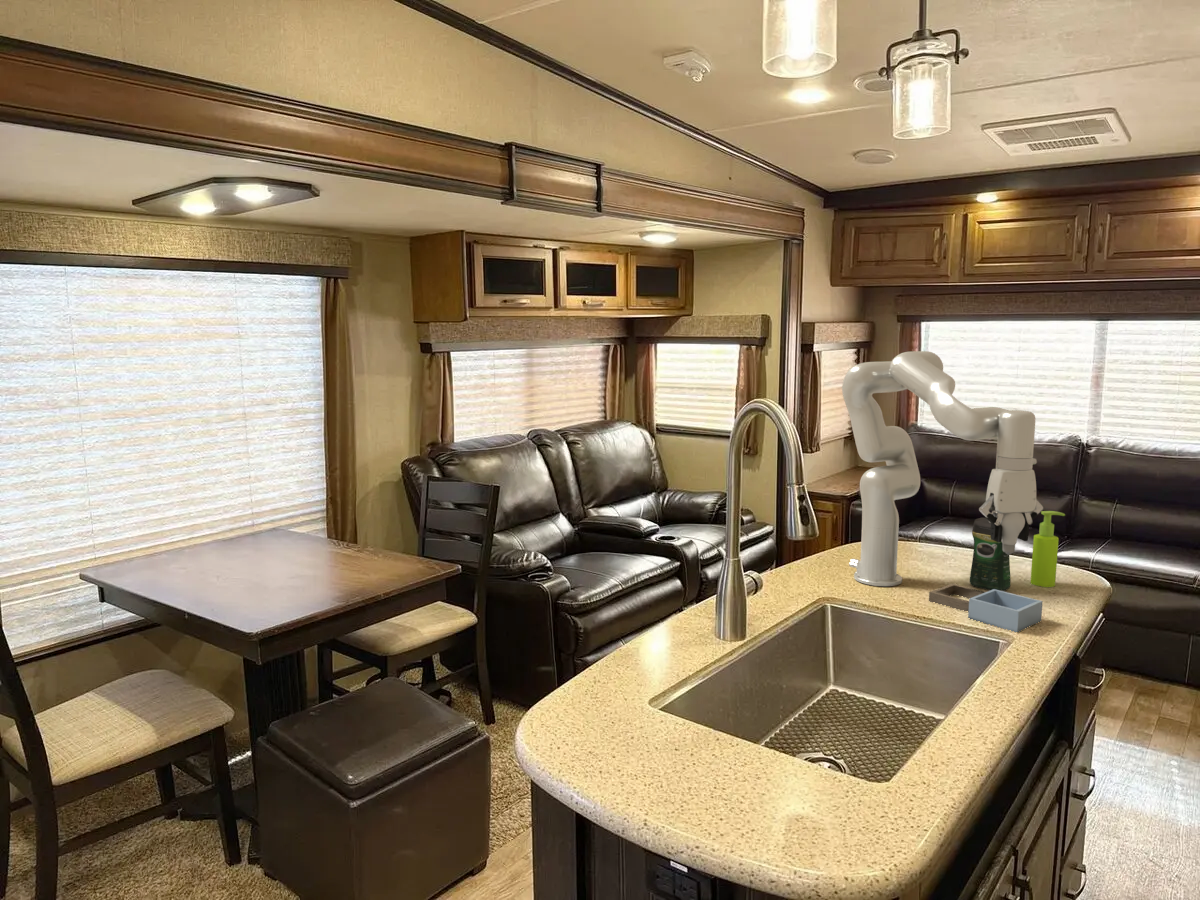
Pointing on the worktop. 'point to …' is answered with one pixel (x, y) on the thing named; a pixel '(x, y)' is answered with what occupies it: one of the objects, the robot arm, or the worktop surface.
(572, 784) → the worktop surface
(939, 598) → the socket collar
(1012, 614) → the box
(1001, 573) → the coffee jar
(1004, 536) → the lightbulb
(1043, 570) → the soap dispenser
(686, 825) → the worktop surface
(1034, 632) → the worktop surface
